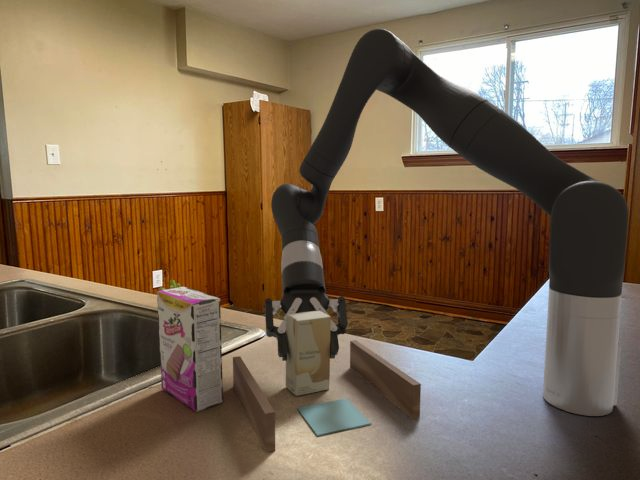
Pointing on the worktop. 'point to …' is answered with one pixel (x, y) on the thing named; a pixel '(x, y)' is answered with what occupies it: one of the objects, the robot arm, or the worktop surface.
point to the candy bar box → (190, 347)
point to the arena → (334, 412)
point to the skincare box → (308, 352)
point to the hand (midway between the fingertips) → (309, 357)
